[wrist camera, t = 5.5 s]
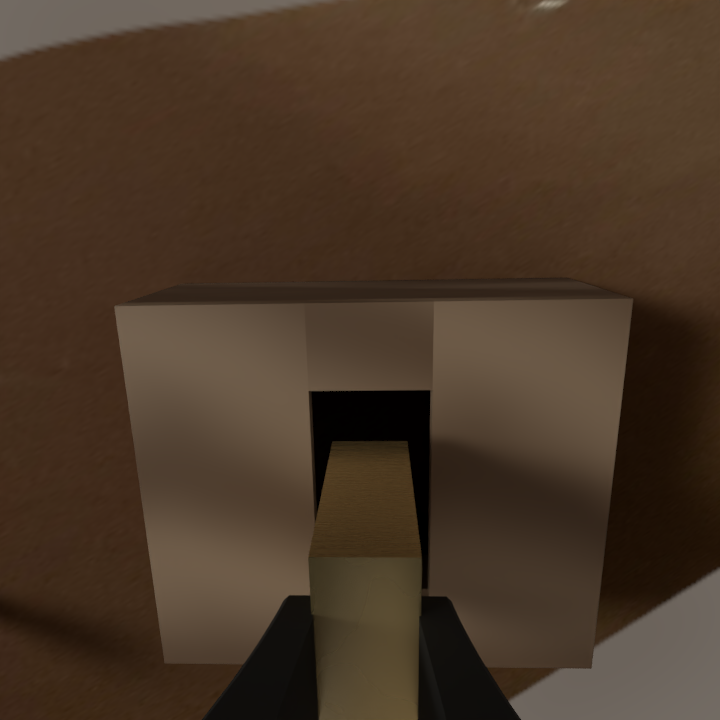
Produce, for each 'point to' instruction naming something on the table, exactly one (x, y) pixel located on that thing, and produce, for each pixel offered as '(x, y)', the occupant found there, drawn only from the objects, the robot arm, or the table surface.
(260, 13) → the table surface
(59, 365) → the table surface
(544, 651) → the beige block with hole
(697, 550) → the table surface
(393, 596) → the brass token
